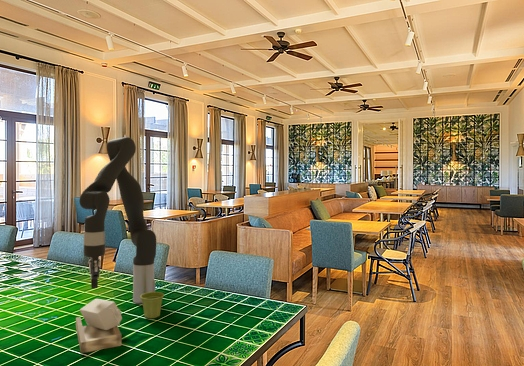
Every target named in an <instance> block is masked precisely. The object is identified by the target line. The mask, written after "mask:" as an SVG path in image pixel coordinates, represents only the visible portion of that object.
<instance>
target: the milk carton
mask: <svg viewBox="0 0 524 366" xmlns="http://www.w3.org/2000/svg"><path fill="white" fill-rule="evenodd" d="M79 312H80V313H81V315H82V317H83V319H84V322H85V323H86V324H87V325H86V326H88V325H90V326H93V327H97V328H100V329H104V330H108V329H110V328H113V327H115V326H121V324H120V323H121V321H122V320H123V317H122V314H121V313H122V311H121V309H120V308H118V306H117V304H116V302H115V301H113V300H112V301H111V300H106V299H100V298H95V299H93V300H91V301H90V302H88V303H87V304H86V305H84V306H83V307H81V308H80V309H79Z"/></svg>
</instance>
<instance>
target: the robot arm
mask: <svg viewBox="0 0 524 366" xmlns="http://www.w3.org/2000/svg"><path fill="white" fill-rule="evenodd" d="M136 150H137V147H136V143H135V141H134V139H133V138H131V137H129V136H128V137H127V136H125V137H118V138H113V139H110V140H108V141H107V143H106V152H107V156H108V159H109V162H108V163H107V164H106V165H104V166H103V167H102V168H101V170H100V171H99V172H98V174H97V175H96V177H95V179H94V181H93V182H91V183H90V185H88V186H87V187H86V188H85V189H84V190H83V191H82V193H81V194H80V197H79V201H78V202H79V205H80V207H81V208H82V209H83V210H96V211H95V213H94V214H93V215H92V214H91V215H88V216H86V217H85V218H84V233H83V234H84V235H83V256H84V257H85V258H90V259H89V260H88V262H87V263H88V265H89V266H88V270H89V274H90V275H89V277H90V287H91V289H98V287H99V285H98V283H99V282H98V281H99V278H100V271H101V264H102V263H101V259H100V258H99V257H103V256H105V254H106V234H105V220H106V217H107V213H108V209H109V205H110V201H111V200H110V196H109V194H108V193H110V192H111V190H112V188H113V186H114V185H115V182H117V186H118V189H119V194H120V198H121V201H122V205H123V208H124V212H125V215H126V218H127V221H128V222H127V223H128V226H129V227H128V228H129V234H130V240H131V243H132V245H134V246H135V247H136V248H135V249H136V250H135V256H134V257H133V260H132V302H133V303H134V304H143V302H142V299H141V297H140V296H141V295H142V294H144V293H148V292H156V280H155V259H156V256H157V236H156V234H155V232H154V231H153V230H151V229H148V227H147V224H146V220H145V216H144V208H145V207H144V204H145V203H144V202H145V200H144V195H143V191H142V187H141V185H140V183H139V181H138V180H137V179H136V178H135V177H134V176H133V175H132V174H131V173H130V172H129V171H128V169H127V168H126V166H127V164H129V162H130V160H131V159H132V158H133V157H134V156H135V154H136V152H137V151H136Z"/></svg>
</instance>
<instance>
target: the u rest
mask: <svg viewBox="0 0 524 366" xmlns="http://www.w3.org/2000/svg"><path fill="white" fill-rule="evenodd" d="M118 326H119V325H118ZM118 326H115V327H113V328H110V329H108V330H104V329H100V328H97V327H93V326H90V325H83V323H82V318H81V316H78V317H75V328H76V329H75V330H76V334H77V340H78V344H79V350H80V354H85V353H90V352H95V351H99V350H103V349H104V350H105V349H111V348H115V347H120V346H122V336H123V335H122V333H121V331H120V329H119V327H118Z"/></svg>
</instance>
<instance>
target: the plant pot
mask: <svg viewBox="0 0 524 366" xmlns="http://www.w3.org/2000/svg"><path fill="white" fill-rule="evenodd" d="M164 296H165V293H163V292H160V291H155V292H148V293H144V294H142V295H141V296H140V297H141V299H142V302H143V303H142V307H143V315H144V318H146V319H147V318H148V319H157V318H158V317H160V316H161V309H162V303H163V298H164Z"/></svg>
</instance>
